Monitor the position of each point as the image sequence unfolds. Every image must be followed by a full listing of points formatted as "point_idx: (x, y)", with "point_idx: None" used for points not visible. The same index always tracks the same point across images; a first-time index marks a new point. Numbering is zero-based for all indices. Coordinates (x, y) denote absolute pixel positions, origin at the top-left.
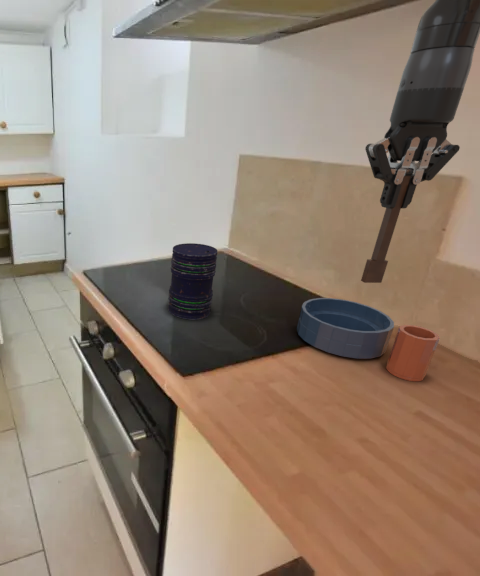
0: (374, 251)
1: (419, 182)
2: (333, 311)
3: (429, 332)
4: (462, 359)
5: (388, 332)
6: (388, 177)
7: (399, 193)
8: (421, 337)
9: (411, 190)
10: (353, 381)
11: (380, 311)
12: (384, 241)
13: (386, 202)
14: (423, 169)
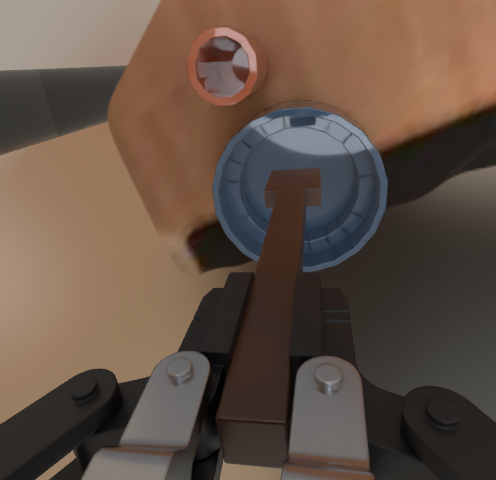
0: (305, 214)
1: (164, 361)
2: None
3: (196, 75)
4: (114, 123)
5: (250, 121)
6: (444, 398)
7: (278, 327)
8: (206, 84)
9: (213, 329)
10: (357, 20)
11: (217, 210)
12: (294, 210)
13: (343, 294)
14: (125, 446)
